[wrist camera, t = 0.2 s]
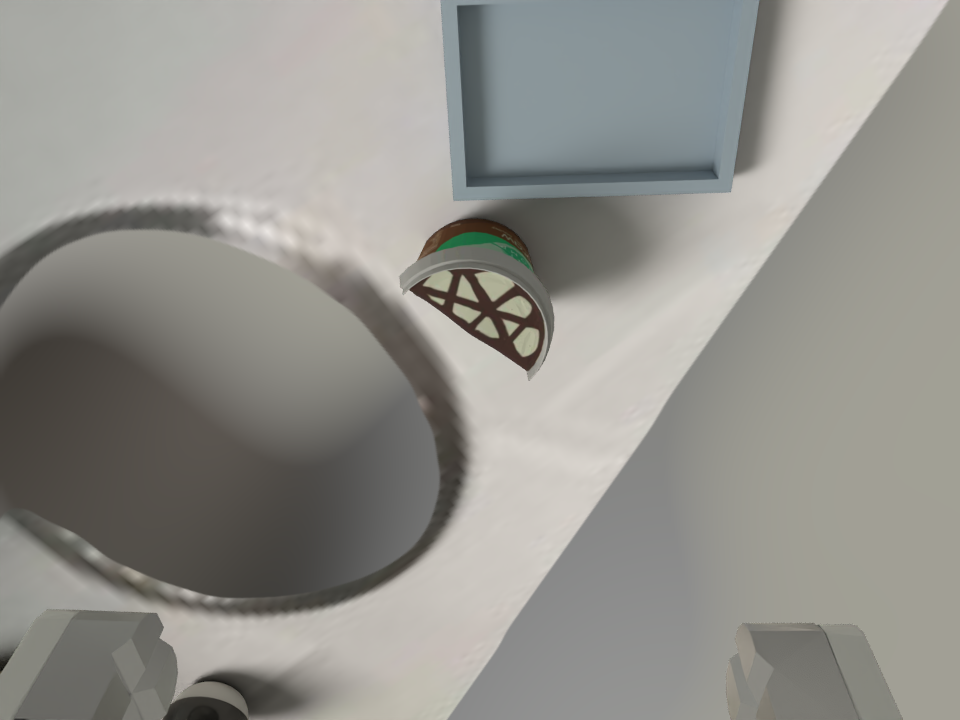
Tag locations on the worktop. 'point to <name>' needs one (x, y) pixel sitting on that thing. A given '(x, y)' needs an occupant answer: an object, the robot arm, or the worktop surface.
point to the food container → (486, 288)
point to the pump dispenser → (208, 703)
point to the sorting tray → (595, 96)
